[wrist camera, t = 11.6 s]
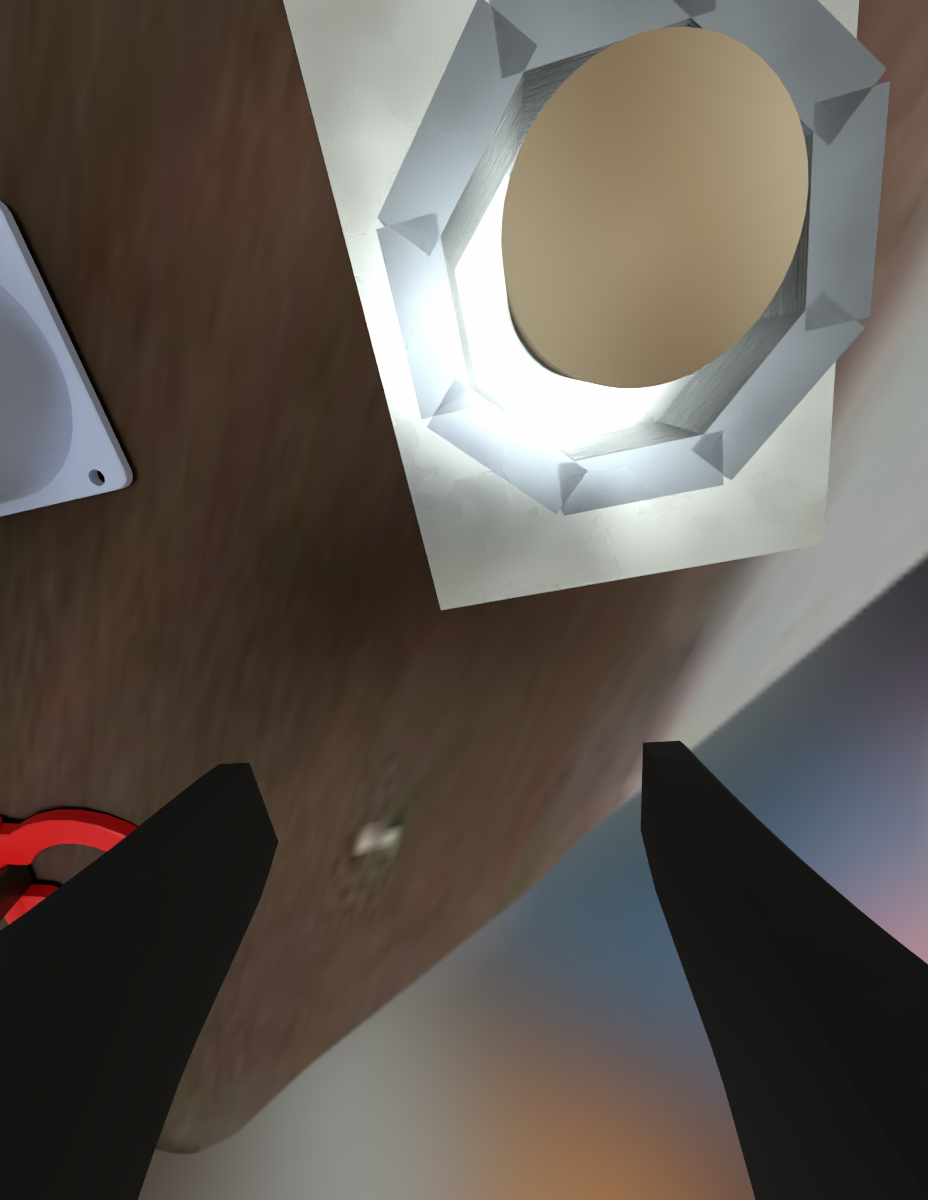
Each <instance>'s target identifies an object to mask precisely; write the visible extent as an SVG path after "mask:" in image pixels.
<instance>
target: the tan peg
mask: <svg viewBox="0 0 928 1200" xmlns="http://www.w3.org/2000/svg"><path fill="white" fill-rule="evenodd" d="M807 195H808V158H807V151H806V144H805V137H804V134H803V130H802V126H801V123H800V119H799V115H798V113H797V111H796V109H795V106H794V104H793V102H792V99H791V97H790V95H789V93H788V91H787V90H786V88H785V87H784V85H783V84H782V82H781V80H780V79H779V77H778V76H777V74H776V73H775V72H774V71H773V70H772V69H771V68H770V67H769V65H768V64H767V63H766V62H765V61H764V60H763V59H762V58H761V57H760V56H758V55H757V54H756V53H755V52H753V51H752V50H751V49H749V48H748V47H747V46H746V45H744V44H742V43H740V42H738V41H736V40H734V39H732V38H730V37H728V36H726V35H724V34H721V33H717V32H714V31H710V30H707V29H702V28H692V27H683V26H682V27H668V28H658V29H654V30H650V31H646V32H642V33H638V34H635V35H633V36H630V37H628V38H626V39H623V40H621V41H619V42H616V43H614V44H613V45H611V46H609V47H608V48H606V49H604V50H603V51H601V52H599V53H598V54H596V55H594V56H593V57H592V58H590V59H589V60H588V61H587V62H585V63H584V64H583V65H582V66H580V67H579V68H578V69H577V70H575V71H574V72H573V73H572V74H571V75H570V76H569V77H568V78H567V79H566V80H565V81H564V82H563V84H562V85H561V86H560V87H559V88H558V89H557V90H556V91H555V92H554V94H553V95H552V96H551V98H550V99H549V100H548V101H547V103H546V104H545V105H544V107H543V108H542V109H541V111H540V112H539V114H538V116H537V117H536V119H535V121H534V122H533V124H532V126H531V127H530V129H529V131H528V133H527V135H526V137H525V139H524V141H523V143H522V146H521V148H520V150H519V152H518V154H517V157H516V160H515V163H514V166H513V169H512V172H511V175H510V177H509V182H508V186H507V191H506V195H505V199H504V206H503V214H502V223H501V252H502V262H503V271H504V278H505V286H506V293H507V300H508V307H509V312H510V317H511V321H512V324H513V327H514V330H515V332H516V334H517V336H518V338H519V340H520V342H521V344H522V345H523V347H524V348H525V349H526V351H527V352H528V353H529V354H530V355H531V357H532V358H533V359H534V360H535V361H537V362H538V363H539V364H540V365H541V366H543V367H544V368H546V369H547V370H549V371H551V372H553V373H555V374H557V375H560V376H563V377H566V378H570V379H574V380H579V381H583V382H587V383H592V384H596V385H600V386H605V387H613V388H621V389H631V388H645V387H652V386H658V385H661V384H665V383H668V382H672V381H675V380H678V379H680V378H682V377H685V376H687V375H689V374H692V373H694V372H696V371H697V370H699V369H701V368H703V367H704V366H706V365H708V364H710V363H711V362H712V361H714V360H715V359H717V358H718V357H719V356H721V355H722V354H723V353H725V352H726V351H727V350H729V349H730V348H731V347H732V346H733V345H734V344H735V343H736V342H737V341H738V340H740V339H741V338H742V337H743V336H744V335H745V334H746V332H747V331H748V330H749V329H750V328H751V327H752V326H753V325H754V323H755V322H756V321H757V320H758V319H759V317H760V316H761V315H762V313H763V312H764V310H765V309H766V308H767V306H768V305H769V303H770V302H771V301H772V299H773V297H774V295H775V294H776V292H777V290H778V289H779V287H780V285H781V283H782V282H783V280H784V277H785V275H786V273H787V271H788V268H789V266H790V264H791V262H792V260H793V257H794V254H795V251H796V248H797V245H798V242H799V239H800V236H801V231H802V227H803V222H804V217H805V213H806V205H807Z"/></svg>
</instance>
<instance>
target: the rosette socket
mask: <svg viewBox="0 0 928 1200" xmlns="http://www.w3.org/2000/svg"><path fill="white" fill-rule="evenodd" d="M283 2H284V6H285V9H286V13H287V17H288V21H289V25H290V29H291V33H292V36H293V40H294V44H295V48H296V52H297V56H298V60H299V64H300V67H301V71H302V75H303V79H304V83H305V87H306V91H307V94H308V98H309V102H310V106H311V110H312V114H313V118H314V122H315V125H316V129H317V133H318V137H319V141H320V145H321V149H322V152H323V156H324V160H325V164H326V168H327V172H328V176H329V179H330V183H331V187H332V191H333V195H334V199H335V203H336V207H337V210H338V214H339V218H340V222H341V226H342V230H343V234H344V237H345V241H346V245H347V249H348V253H349V257H350V261H351V265H352V268H353V272H354V276H355V280H356V284H357V288H358V292H359V295H360V299H361V303H362V307H363V311H364V315H365V319H366V322H367V326H368V330H369V334H370V338H371V342H372V346H373V350H374V353H375V357H376V361H377V365H378V369H379V373H380V377H381V380H382V384H383V388H384V392H385V396H386V400H387V404H388V407H389V411H390V415H391V419H392V423H393V427H394V431H395V435H396V438H397V442H398V446H399V450H400V454H401V458H402V462H403V465H404V469H405V473H406V477H407V481H408V485H409V489H410V493H411V496H412V500H413V504H414V508H415V512H416V516H417V520H418V523H419V527H420V531H421V535H422V539H423V543H424V547H425V550H426V554H427V558H428V562H429V566H430V570H431V574H432V578H433V581H434V585H435V589H436V593H437V597H438V601H439V605H440V608H441V610H445V609H451V608H457V607H463V606H469V605H474V604H480V603H486V602H492V601H498V600H503V599H509V598H515V597H521V596H527V595H532V594H538V593H544V592H550V591H556V590H562V589H567V588H573V587H579V586H585V585H591V584H596V583H602V582H608V581H614V580H620V579H625V578H631V577H637V576H643V575H649V574H655V573H660V572H666V571H672V570H678V569H684V568H689V567H695V566H701V565H707V564H713V563H718V562H724V561H730V560H736V559H742V558H748V557H753V556H759V555H765V554H771V553H777V552H782V551H788V550H794V549H800V548H806V547H811V546H817V545H823V544H824V534H825V518H826V503H827V487H828V472H829V456H830V441H831V425H832V410H833V394H834V379H835V363H836V360H837V359H838V358H839V357H840V356H841V355H842V353H843V352H844V351H845V350H846V349H847V348H848V346H849V345H850V344H851V343H852V342H853V341H854V340H855V338H856V337H857V336H858V335H859V334H860V333H861V332H862V330H863V329H864V328H865V327H864V326H862V325H861V324H860V323H859V322H858V321H857V320H858V319H862V318H866V317H870V310H871V298H872V287H873V275H874V264H875V252H876V240H877V229H878V217H879V206H880V194H881V182H882V171H883V159H884V147H885V136H886V124H887V113H888V101H889V89H890V81H889V82H885V83H882V84H878V85H875V84H876V82H877V81H878V80H879V78H880V77H881V76H882V74H883V73H884V71H885V70H886V68H885V67H884V66H883V65H882V64H881V63H880V62H879V61H878V60H877V59H876V58H875V57H874V56H873V55H872V54H871V53H870V52H869V51H868V50H867V49H866V48H865V47H864V46H863V45H862V44H861V43H860V42H859V41H858V40H857V39H856V38H857V23H858V7H859V0H283ZM682 26H683V27H692V28H702V29H707V30H710V31H714V32H717V33H721V34H724V35H726V36H728V37H730V38H732V39H734V40H736V41H738V42H740V43H742V44H744V45H746V46H747V47H748V48H749V49H751V50H752V51H753V52H755V53H756V54H757V55H758V56H760V57H761V58H762V59H763V60H764V61H765V62H766V63H767V64H768V65H769V67H770V68H771V69H772V70H773V71H774V72H775V73H776V74H777V76H778V77H779V79H780V80H781V82H782V84H783V85H784V87H785V88H786V90H787V91H788V93H789V95H790V97H791V99H792V102H793V104H794V106H795V109H796V111H797V113H798V115H799V119H800V123H801V126H802V130H803V134H804V137H805V144H806V151H807V158H808V195H807V205H806V213H805V217H804V222H803V227H802V231H801V236H800V239H799V242H798V245H797V248H796V251H795V254H794V257H793V260H792V262H791V264H790V266H789V268H788V271H787V273H786V275H785V277H784V280H783V282H782V283H781V285H780V287H779V289H778V290H777V292H776V294H775V295H774V297H773V299H772V301H771V302H770V303H769V305H768V306H767V308H766V309H765V310H764V312H763V313H762V315H761V316H760V317H759V319H758V320H757V321H756V322H755V323H754V325H753V326H752V327H751V328H750V329H749V330H748V331H747V332H746V334H745V335H744V336H743V337H742V338H741V339H740V340H738V341H737V342H736V343H735V344H734V345H733V346H732V347H731V348H730V349H729V350H727V351H726V352H725V353H723V354H722V355H721V356H719V357H718V358H717V359H715V360H714V361H712V362H711V363H710V364H708V365H706V366H704V367H703V368H701V369H699V370H697V371H696V372H694V373H692V374H689V375H687V376H685V377H682V378H680V379H678V380H675V381H672V382H668V383H665V384H661V385H658V386H652V387H645V388H631V389H621V388H613V387H605V386H600V385H596V384H592V383H587V382H583V381H579V380H574V379H570V378H566V377H563V376H560V375H557V374H555V373H553V372H551V371H549V370H547V369H546V368H544V367H543V366H541V365H540V364H539V363H538V362H537V361H535V360H534V359H533V358H532V357H531V355H530V354H529V353H528V352H527V351H526V349H525V348H524V347H523V345H522V344H521V342H520V340H519V338H518V336H517V334H516V332H515V330H514V327H513V324H512V321H511V317H510V312H509V307H508V300H507V293H506V286H505V278H504V271H503V262H502V252H501V223H502V214H503V206H504V199H505V195H506V191H507V186H508V182H509V177H510V175H511V172H512V169H513V166H514V163H515V160H516V157H517V154H518V152H519V150H520V148H521V146H522V143H523V141H524V139H525V137H526V135H527V133H528V131H529V129H530V127H531V126H532V124H533V122H534V121H535V119H536V117H537V116H538V114H539V112H540V111H541V109H542V108H543V107H544V105H545V104H546V103H547V101H548V100H549V99H550V98H551V96H552V95H553V94H554V92H555V91H556V90H557V89H558V88H559V87H560V86H561V85H562V84H563V82H564V81H565V80H566V79H567V78H568V77H569V76H570V75H571V74H572V73H573V72H574V71H575V70H577V69H578V68H579V67H580V66H582V65H583V64H584V63H585V62H587V61H588V60H589V59H590V58H592V57H593V56H594V55H596V54H598V53H599V52H601V51H603V50H604V49H606V48H608V47H609V46H611V45H613V44H614V43H616V42H619V41H621V40H623V39H626V38H628V37H630V36H633V35H635V34H638V33H642V32H646V31H650V30H654V29H658V28H668V27H682ZM874 85H875V86H874Z"/></svg>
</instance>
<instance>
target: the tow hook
mask: <svg viewBox="0 0 928 1200" xmlns="http://www.w3.org/2000/svg"><path fill="white" fill-rule="evenodd" d="M136 828H137V827H136V826H134V825H133V824H131V823H129V822H126V821H123V820H121V819H118V818H115V817H113V816H110V815H107V814H102V813H97V812H92V811H86V810H54V811H49V812H44V813H39V814H36V815H35V816H33V817H31V818H29V819H27V820H25V821H23V822H22V823H21V824H13V823H4V822H3V820H2V817H1V816H0V921H1V920H2V919H3V918H4V917H5V919H6V921H7V923H8V925H9V924H11V923H12V922H13V921H15V920H16V919H18V918H19V917H20V916H22V915H23V914H25V913H26V912H27V911H29V910H30V909H31V908H33V907H34V906H35V905H37V904H38V903H39V902H41V901H42V900H43V899H45V898H46V897H47V896H49V895H50V894H51V893H53V892H54V891H55V890H57V889H58V887H56V886H53V885H36V884H32V881H33V876H32V874H31V872H30V870H29V868H28V864H30V863H32V862H33V861H34V860H35V858H36V857H37V856H38V855H39V854H40V853H41V852H42V850H43V849H45V848H47V847H49V846H53V845H58V844H82V845H87V846H92V847H96V848H99V849H101V850H104V851H108V850H110V849H111V848H112V847H113V846H115V845H116V844H117V843H118V842H120V841H121V840H122V839H124V838H125V837H126V836H127V835H129V834H130V833H131V832H132V831H134V830H135V829H136Z"/></svg>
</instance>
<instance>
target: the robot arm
mask: <svg viewBox="0 0 928 1200" xmlns="http://www.w3.org/2000/svg"><path fill="white" fill-rule="evenodd" d="M98 471H100V472H101V473H102V474H103V475H104V478H105V482H102V481H101V480H100V479H99V477H98V474H97V472H98ZM132 478H133V475H132V471H131V468H130V466H129V464H128V462H127V460H126V458H125V455H124V453H123V451H122V449H121V447H120V445H119V443H118V440H117V438H116V436H115V434H114V432H113V430H112V428H111V425H110V423H109V421H108V419H107V417H106V415H105V413H104V410H103V408H102V406H101V404H100V402H99V400H98V398H97V396H96V393H95V391H94V389H93V387H92V385H91V383H90V381H89V378H88V376H87V374H86V372H85V370H84V368H83V366H82V363H81V361H80V359H79V357H78V355H77V353H76V351H75V348H74V346H73V344H72V342H71V340H70V338H69V336H68V333H67V331H66V329H65V327H64V325H63V323H62V321H61V318H60V316H59V314H58V312H57V310H56V308H55V306H54V303H53V301H52V299H51V297H50V295H49V293H48V291H47V288H46V286H45V284H44V282H43V280H42V278H41V276H40V274H39V271H38V269H37V267H36V265H35V263H34V261H33V259H32V256H31V254H30V252H29V250H28V248H27V246H26V244H25V241H24V239H23V237H22V235H21V233H20V231H19V229H18V226H17V224H16V222H15V220H14V218H13V216H12V214H11V212H10V211H9V209H8V208H7V206H6V205H5V204H3V203H2V202H1V201H0V516H5V515H9V514H13V513H18V512H22V511H27V510H31V509H35V508H40V507H44V506H48V505H53V504H57V503H62V502H66V501H70V500H75V499H79V498H83V497H88V496H92V495H97V494H101V493H105V492H110V491H114V490H118V489H122V488H125V487H127V486H129V485H130V484H131V482H132ZM641 832H642V837H643V841H644V845H645V849H646V854H647V858H648V862H649V866H650V870H651V874H652V878H653V882H654V885H655V890H656V893H657V896H658V899H659V902H660V904H661V907H662V910H663V913H664V916H665V918H666V921H667V924H668V927H669V930H670V932H671V935H672V938H673V941H674V944H675V947H676V950H677V952H678V955H679V958H680V961H681V963H682V966H683V969H684V972H685V975H686V977H687V980H688V983H689V986H690V988H691V991H692V994H693V997H694V1000H695V1002H696V1005H697V1008H698V1011H699V1014H700V1016H701V1019H702V1022H703V1025H704V1027H705V1030H706V1033H707V1035H708V1039H709V1041H710V1044H711V1047H712V1050H713V1053H714V1056H715V1059H716V1062H717V1066H718V1069H719V1072H720V1075H721V1078H722V1081H723V1084H724V1087H725V1091H726V1094H727V1098H728V1101H729V1105H730V1108H731V1112H732V1116H733V1120H734V1123H735V1127H736V1131H737V1134H738V1137H739V1141H740V1144H741V1149H742V1152H743V1156H744V1159H745V1162H746V1167H747V1170H748V1174H749V1177H750V1181H751V1185H752V1189H753V1192H754V1196H755V1200H928V964H926V963H925V962H924V961H923V960H922V959H920V958H919V957H918V956H916V955H915V954H914V953H912V952H911V951H910V950H909V949H907V948H906V947H905V946H903V945H902V944H901V943H900V942H898V941H897V940H896V939H895V938H893V937H892V936H891V935H890V934H888V933H887V932H886V931H885V930H883V929H882V928H881V927H880V926H879V925H877V924H876V923H875V922H874V921H872V920H871V919H870V918H869V917H867V916H866V915H865V914H864V913H863V912H861V911H860V910H859V909H858V908H857V907H855V906H854V905H853V904H852V903H851V902H850V901H848V900H847V899H846V898H845V897H844V896H843V895H841V894H840V893H839V892H838V891H837V890H836V889H834V888H833V887H832V886H831V885H830V884H829V883H827V882H826V881H825V880H824V879H823V878H822V877H821V876H819V875H818V874H817V873H816V872H815V871H814V870H813V869H812V868H810V867H809V866H808V865H807V864H806V863H805V862H804V861H803V860H801V859H800V858H799V857H798V856H797V855H796V854H795V853H794V852H793V851H792V850H790V849H789V848H788V847H787V846H786V845H785V844H784V843H783V842H782V841H781V840H780V839H779V838H778V837H777V836H776V835H774V834H773V833H772V832H771V831H770V830H769V829H768V828H767V827H766V826H765V825H764V824H763V823H762V822H761V821H759V819H757V818H756V817H755V816H754V815H753V814H752V813H751V812H750V811H749V810H748V809H747V808H746V807H745V806H744V805H743V804H742V803H741V802H740V801H739V800H738V799H737V798H736V797H735V796H734V795H733V794H732V793H731V792H730V791H729V790H728V789H727V788H726V787H725V786H724V785H723V784H722V783H721V782H720V781H719V780H718V779H717V778H716V777H715V776H714V775H713V774H712V773H711V772H710V771H709V770H708V769H707V768H706V766H704V764H703V763H702V762H701V761H700V760H699V759H698V758H697V757H696V756H695V755H694V754H693V753H692V752H691V751H690V750H689V749H688V748H687V747H686V746H685V745H684V744H683V743H682V742H681V741H667V742H648V743H643V768H642V803H641ZM277 844H278V840H277V837H276V834H275V832H274V829H273V826H272V823H271V821H270V818H269V815H268V812H267V810H266V807H265V804H264V801H263V799H262V796H261V793H260V790H259V788H258V785H257V782H256V780H255V777H254V774H253V771H252V769H251V766H250V763H235V764H219V765H217V766H216V767H215V768H213V769H212V770H210V771H209V772H208V773H206V774H205V775H203V776H202V777H201V778H199V779H198V780H197V781H196V782H194V783H193V784H192V785H190V786H189V787H188V788H187V789H185V790H184V791H183V792H181V793H180V794H179V795H178V796H176V797H175V798H174V799H173V800H171V801H170V802H169V803H168V804H166V805H165V806H164V807H163V808H161V809H160V810H159V811H158V812H156V813H155V814H154V815H153V816H151V817H150V818H149V819H148V820H146V821H145V822H144V823H142V824H141V825H140V826H139V827H137V828H136V829H135V830H134V831H132V832H131V833H130V834H129V835H127V836H126V837H125V838H124V839H122V840H121V841H120V842H118V843H117V844H116V845H115V846H113V847H112V848H111V849H110V850H108V851H107V852H106V853H105V854H103V855H102V856H101V857H99V858H98V859H97V860H95V861H94V862H93V863H91V864H90V865H89V866H87V867H86V868H85V869H83V870H82V871H81V872H79V873H78V874H77V875H75V876H74V877H73V878H71V879H70V880H69V881H67V882H66V883H65V884H63V885H62V886H61V887H59V888H58V889H57V890H55V891H54V892H53V893H51V894H50V895H49V896H47V897H46V898H45V899H43V900H42V901H41V902H39V903H38V904H37V905H35V906H34V907H33V908H31V909H30V910H29V911H27V912H26V913H25V914H23V915H22V916H20V917H19V918H18V919H16V920H15V921H13V922H12V923H11V924H9V925H8V926H6V927H5V928H3V929H2V930H0V1200H138V1197H139V1194H140V1191H141V1188H142V1185H143V1182H144V1179H145V1176H146V1173H147V1170H148V1168H149V1165H150V1162H151V1159H152V1156H153V1153H154V1150H155V1148H156V1145H157V1142H158V1139H159V1137H160V1134H161V1131H162V1128H163V1126H164V1123H165V1120H166V1117H167V1115H168V1112H169V1109H170V1106H171V1104H172V1101H173V1098H174V1095H175V1093H176V1090H177V1087H178V1084H179V1082H180V1079H181V1076H182V1074H183V1072H184V1069H185V1067H186V1064H187V1062H188V1060H189V1057H190V1055H191V1052H192V1050H193V1047H194V1045H195V1043H196V1040H197V1038H198V1036H199V1034H200V1032H201V1029H202V1027H203V1025H204V1023H205V1021H206V1018H207V1016H208V1014H209V1012H210V1010H211V1007H212V1005H213V1003H214V1001H215V999H216V996H217V994H218V992H219V990H220V988H221V985H222V983H223V981H224V979H225V977H226V974H227V972H228V970H229V968H230V966H231V963H232V961H233V959H234V957H235V955H236V952H237V950H238V948H239V946H240V944H241V941H242V939H243V937H244V935H245V932H246V930H247V928H248V926H249V923H250V921H251V919H252V917H253V914H254V912H255V910H256V907H257V905H258V903H259V900H260V898H261V895H262V892H263V889H264V886H265V883H266V880H267V877H268V874H269V871H270V867H271V864H272V861H273V857H274V854H275V851H276V847H277Z"/></svg>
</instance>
